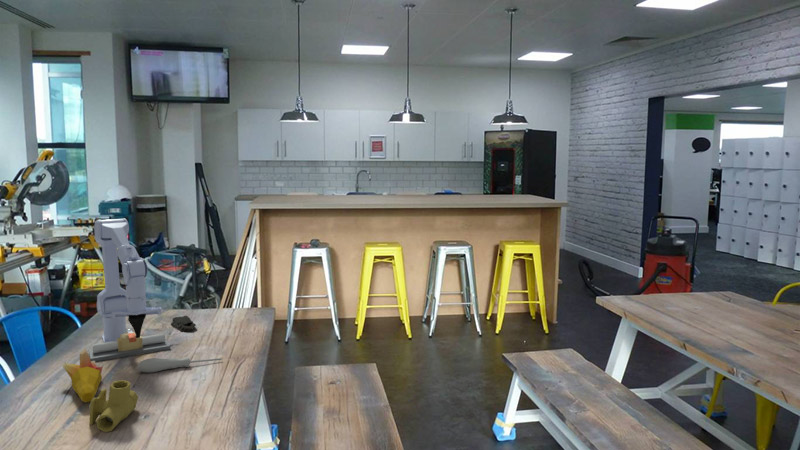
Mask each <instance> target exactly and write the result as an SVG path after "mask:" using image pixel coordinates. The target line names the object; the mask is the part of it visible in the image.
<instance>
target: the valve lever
mask: <svg viewBox="0 0 800 450" xmlns="http://www.w3.org/2000/svg"><path fill="white" fill-rule="evenodd" d="M133 332H134V329H133V327H130V328H126V329H125V333H127V334H128V340H129V342H136V335H135V333H133Z"/></svg>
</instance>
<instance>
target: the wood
mask: <svg viewBox="0 0 800 450" xmlns="http://www.w3.org/2000/svg"><path fill="white" fill-rule="evenodd" d="M170 325H171V326H172V327H173V328H174V329H175V330H178V331H180V332H181V333H192V332H193V329H194V328H195V327H197V324H196V323H194V322H193V321H192V320H191V318H190V317H189V316H188V315H183V316H175V317H172V322H171V323H170Z"/></svg>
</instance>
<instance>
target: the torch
mask: <svg viewBox="0 0 800 450" xmlns="http://www.w3.org/2000/svg"><path fill="white" fill-rule="evenodd" d="M61 366H62V368H63V369H64V370H65V372H66V373H67V375H68V376H69V377H70V380H71V387H72V389H73V391H74V392H75V393H76V394H77V395H78V397H79V399H80V400H81V401H82V402H84V403H89V402H91V400H92V398H95V396H96V394H97V391H98V389H99V386H100V383H101V381H102V378H103V376H102V371H103V368H104V367H103V366H97V363H96V362H95V361H91V360H90V356H89V352H88V351H87V349H86V347H85V346H84V347H83V348H82V350H81V351H80V352H79V364H76V363H69V361H67V360H65V363H62V364H61Z"/></svg>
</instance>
